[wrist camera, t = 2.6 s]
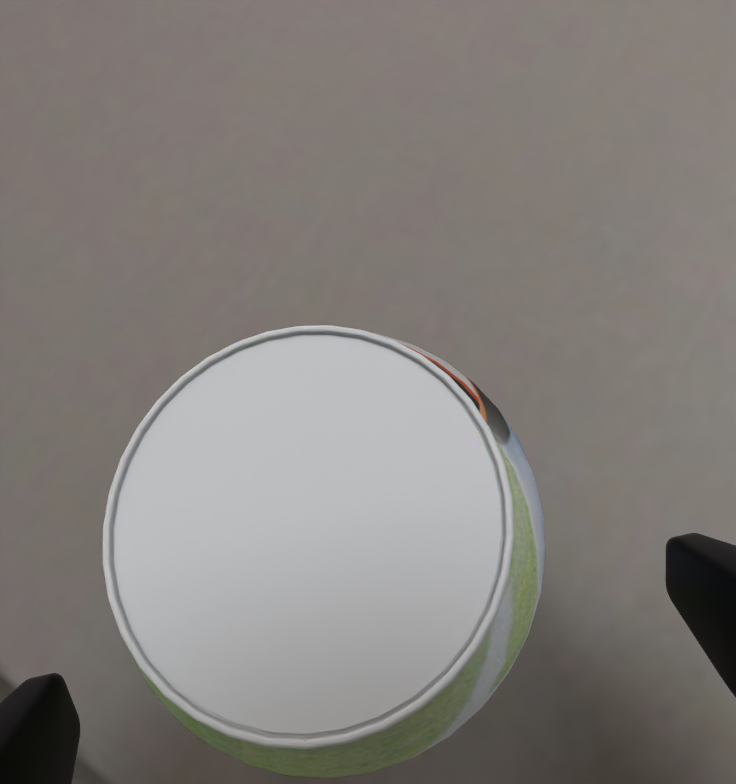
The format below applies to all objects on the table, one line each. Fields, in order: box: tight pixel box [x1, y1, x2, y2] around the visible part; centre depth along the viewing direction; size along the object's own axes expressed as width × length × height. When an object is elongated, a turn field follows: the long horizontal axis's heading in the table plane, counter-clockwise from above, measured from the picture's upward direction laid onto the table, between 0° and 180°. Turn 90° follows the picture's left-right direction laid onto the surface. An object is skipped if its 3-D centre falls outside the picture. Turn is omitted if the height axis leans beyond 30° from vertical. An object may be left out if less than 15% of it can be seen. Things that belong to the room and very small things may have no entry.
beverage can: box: [103, 326, 545, 778], centre depth 13 cm, size 6×7×12 cm
